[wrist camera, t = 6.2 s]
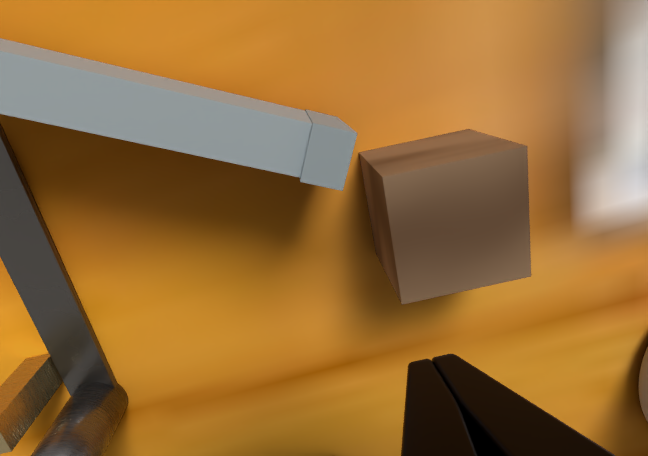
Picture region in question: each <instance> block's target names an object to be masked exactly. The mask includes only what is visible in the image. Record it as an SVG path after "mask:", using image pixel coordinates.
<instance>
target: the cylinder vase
mask: <svg viewBox="0 0 648 456" xmlns="http://www.w3.org/2000/svg"><path fill="white" fill-rule="evenodd" d="M638 388H639V399H640V404H641V408H642V411H643V413H644V416H645V418H646V420H647V422H648V347H647V349H646V352H645V355H644V357H643V361H642V364H641V368H640V374H639V387H638Z"/></svg>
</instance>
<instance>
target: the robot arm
mask: <svg viewBox="0 0 648 456" xmlns="http://www.w3.org/2000/svg"><path fill="white" fill-rule="evenodd" d="M401 456H615V455H614V454H612V453H611V452H609V451H607V450H606V449H604V448H603V447H601V446H599V445H598V444H596V443H595V442H593V441H591V440H590V439H588V438H587V437H585V436H584V435H582V434H580V433H579V432H577V431H576V430H574V429H572V428H571V427H569V426H568V425H566V424H565V423H563V422H561V421H560V420H558V419H557V418H555V417H553V416H552V415H550V414H549V413H547V412H545V411H544V410H542V409H541V408H539V407H538V406H536V405H534V404H533V403H531V402H530V401H528V400H526V399H525V398H523V397H522V396H520V395H518V394H517V393H515V392H514V391H512V390H511V389H509V388H507V387H506V386H504V385H503V384H501V383H499V382H498V381H496V380H495V379H493V378H491V377H490V376H488V375H487V374H485V373H484V372H482V371H480V370H479V369H477V368H476V367H474V366H472V365H471V364H469V363H468V362H466V361H465V360H463V359H461V358H460V357H458V356H457V355H454V354H447V355H442V356H438V357H434V358H433V359H432V360H429V359H424V360H419V361H414V362H411V363H409V365H408V373H407V386H406V399H405V412H404V425H403V437H402V450H401Z"/></svg>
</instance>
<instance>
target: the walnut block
mask: <svg viewBox="0 0 648 456" xmlns="http://www.w3.org/2000/svg"><path fill="white" fill-rule="evenodd" d="M359 156H360V162H361V168H362V174H363V180H364V186H365V192H366V198H367V203H368V209H369V215H370V221H371V227H372V233H373V239H374V245H375V251H376V255H377V257H378V258H379V260H380V262H381V264H382V266H383V268H384V270H385V272H386V274H387V276H388V278H389V280H390V282H391V284H392V286H393V288H394V290H395V292H396V294H397V296H398V298H399V300H400V302H401V304H402V305H403V304H407V303H412V302H416V301H421V300H425V299H430V298H435V297H439V296H444V295H448V294H453V293H457V292H462V291H467V290H471V289H476V288H480V287H485V286H489V285H494V284H498V283H503V282H508V281H512V280H517V279H521V278H526V277H530V276H531V258H530V225H529V192H528V159H527V146H525V145H522V144H519V143H515V142H512V141H508V140H505V139H501V138H498V137H494V136H491V135H487V134H484V133H481V132H477V131H474V130H470V129H466V130H462V131H457V132H452V133H448V134H443V135H438V136H434V137H429V138H424V139H420V140H415V141H410V142H406V143H401V144H396V145H391V146H387V147H382V148H377V149H373V150H368V151H363V152H359Z"/></svg>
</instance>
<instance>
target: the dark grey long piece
mask: <svg viewBox="0 0 648 456" xmlns="http://www.w3.org/2000/svg"><path fill="white" fill-rule="evenodd" d="M0 257H1V259H2V261H3V263H4V265H5V267H6V269H7V271H8V273H9V275H10V277H11V279H12V281H13V283H14V285H15V287H16V289H17V291H18V292H19V294H20V296H21V298H22V300H23V302H24V304H25V306H26V308H27V310H28V312H29V314H30V316H31V318H32V320H33V322H34V324H35V326H36V328H37V330H38V332H39V334H40V336H41V338H42V340H43V342H44V344H45V346H46V348H47V350H48V352H49V354H46V355H41V356H37V357H32V358H27V359H25V360H24V361H23V362H22V363H21V364H20V365H19V367H18V368H17V369H16V370H15V371H14V372H13V373H12V374H11V375H10V376H9V377H8V379H7V380H6V381H5V382H4V383H3V384H2V385H1V386H0V454H2V453H7V452H11V451H12V450H13V449H14V447H15V446H16V445H17V443H18V442H19V441H20V439H21V438H22V437H23V435H24V434H25V432H26V431H27V430H28V428H29V427H30V426H31V424H32V423H33V421H34V420H35V419H36V417H37V416H38V415H39V413H40V412H41V411H42V409H43V408H44V406H45V405H46V404H47V402H48V401H49V400H50V398H51V397H52V395H53V394H54V393H55V391H56V390H57V389H58V387H59V386H60V385H61V383H62V382H64V384H65V386H66V387H67V389H68V391H69V393H70V395H71V397H70V398H69V400H68V401H67V403H66V404H65V406H64V407H63V409H62V410H61V412H60V413H59V415H58V416H57V418H56V419H55V421H54V422H53V424H52V425H51V427H50V428H49V430H48V431H47V433H46V434H45V436H44V437H43V439H42V440H41V441H40V443H39V444H38V446H37V447H36V449H35V450H34V452H33V453H32V455H31V456H103V455H104V453H105V451H106V449H107V447H108V445H109V443H110V440H111V438H112V436H113V434H114V432H115V430H116V428H117V426H118V424H119V422H120V420H121V418H122V416H123V413H124V411H125V409H126V407H127V404H128V397H127V394H126V392H125V390H124V389H123V388H122V387H121V386H120V385H119V384H117V382H116V380H115V377H114V375H113V373H112V371H111V369H110V366H109V364H108V362H107V360H106V357H105V355H104V353H103V351H102V349H101V346H100V344H99V342H98V340H97V337H96V335H95V333H94V331H93V329H92V326H91V324H90V322H89V320H88V318H87V315H86V313H85V311H84V309H83V306H82V304H81V302H80V300H79V298H78V295H77V293H76V291H75V289H74V287H73V284H72V282H71V280H70V278H69V275H68V273H67V271H66V269H65V267H64V264H63V262H62V260H61V258H60V255H59V253H58V251H57V249H56V247H55V244H54V242H53V240H52V238H51V236H50V233H49V231H48V229H47V227H46V224H45V222H44V220H43V218H42V216H41V213H40V211H39V209H38V207H37V205H36V202H35V200H34V198H33V196H32V193H31V191H30V189H29V187H28V185H27V182H26V180H25V178H24V176H23V173H22V171H21V169H20V167H19V165H18V162H17V160H16V158H15V156H14V154H13V151H12V149H11V147H10V145H9V142H8V140H7V138H6V136H5V134H4V131H3V129H2V127H1V125H0Z"/></svg>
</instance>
